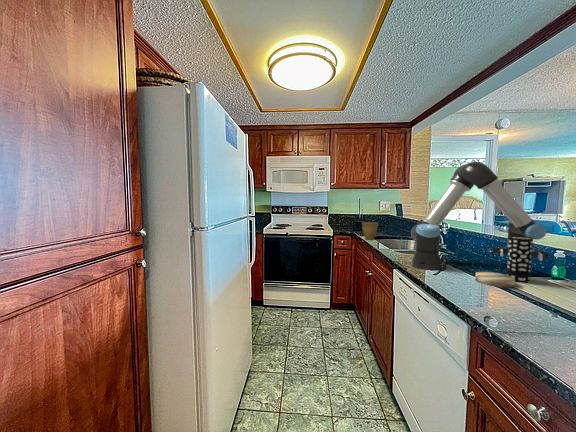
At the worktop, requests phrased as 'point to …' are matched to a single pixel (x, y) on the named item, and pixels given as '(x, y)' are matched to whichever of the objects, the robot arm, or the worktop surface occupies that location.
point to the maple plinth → (495, 279)
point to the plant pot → (369, 230)
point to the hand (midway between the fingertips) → (520, 255)
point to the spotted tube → (520, 258)
